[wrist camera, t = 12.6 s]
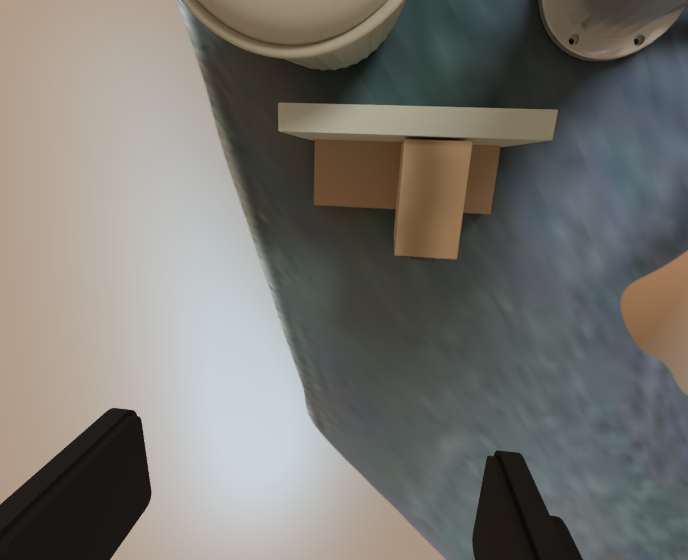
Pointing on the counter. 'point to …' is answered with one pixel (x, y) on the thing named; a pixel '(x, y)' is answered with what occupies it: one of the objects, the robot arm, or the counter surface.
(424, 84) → the counter surface
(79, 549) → the robot arm
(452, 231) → the oak box
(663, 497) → the counter surface
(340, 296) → the counter surface
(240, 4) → the canister
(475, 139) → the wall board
